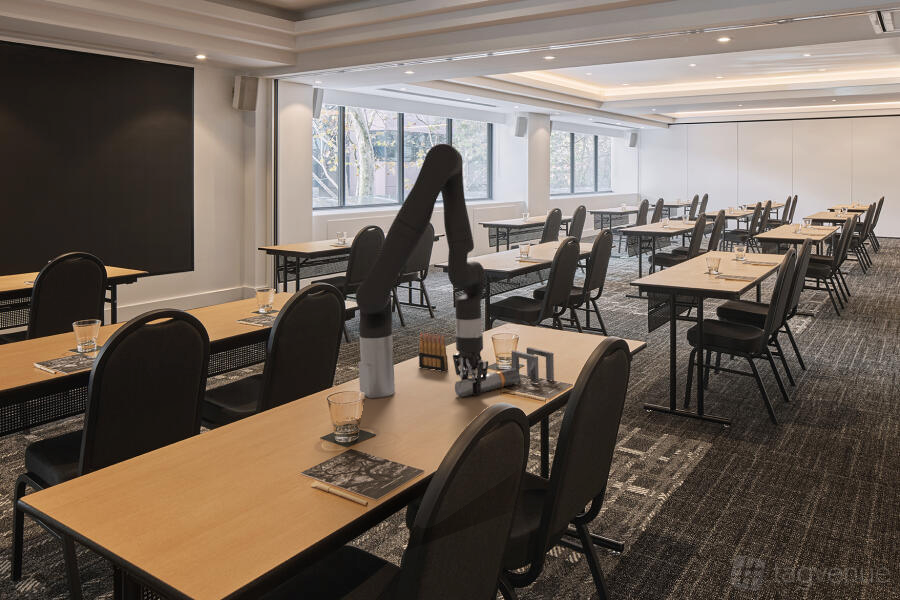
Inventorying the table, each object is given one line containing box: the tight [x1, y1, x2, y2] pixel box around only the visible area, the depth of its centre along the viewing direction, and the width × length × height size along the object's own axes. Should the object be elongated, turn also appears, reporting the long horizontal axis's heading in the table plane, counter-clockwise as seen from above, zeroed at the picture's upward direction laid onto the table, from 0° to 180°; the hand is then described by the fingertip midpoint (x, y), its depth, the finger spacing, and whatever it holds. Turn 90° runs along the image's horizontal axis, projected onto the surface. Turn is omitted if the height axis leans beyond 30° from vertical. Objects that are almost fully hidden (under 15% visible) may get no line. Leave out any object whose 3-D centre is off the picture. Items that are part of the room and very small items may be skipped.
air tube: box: [454, 368, 521, 399], centre depth 211 cm, size 20×5×5 cm, turn 125°
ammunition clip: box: [418, 331, 449, 372], centre depth 236 cm, size 11×2×12 cm, turn 52°
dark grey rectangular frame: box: [526, 346, 555, 382], centre depth 222 cm, size 1×11×8 cm, turn 35°
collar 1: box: [511, 350, 540, 383], centre depth 218 cm, size 1×11×8 cm, turn 35°
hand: (471, 392), depth 208 cm, fingers closed on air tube, 4 cm apart
